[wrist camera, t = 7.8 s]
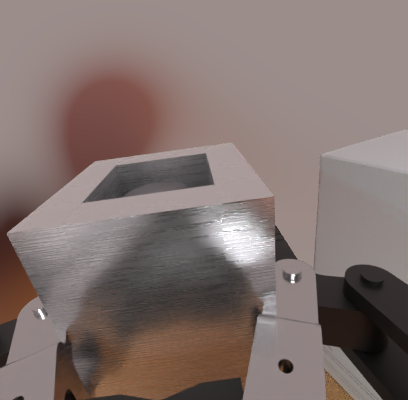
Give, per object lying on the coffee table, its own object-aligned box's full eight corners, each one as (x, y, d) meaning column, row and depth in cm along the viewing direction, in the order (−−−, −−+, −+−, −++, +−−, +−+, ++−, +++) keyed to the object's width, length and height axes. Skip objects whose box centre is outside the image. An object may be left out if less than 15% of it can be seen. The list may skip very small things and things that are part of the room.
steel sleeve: (246, 324, 14) (231, 142, 10) (278, 452, 9) (274, 196, 5) (149, 338, 14) (94, 161, 10) (128, 472, 9) (6, 233, 5)
